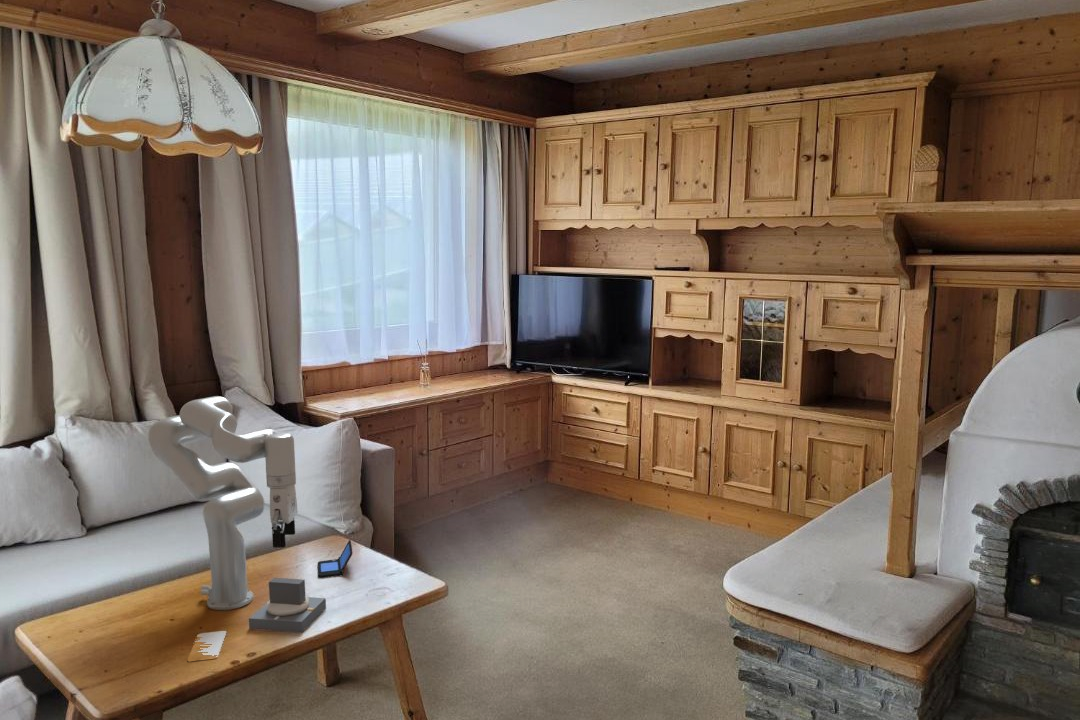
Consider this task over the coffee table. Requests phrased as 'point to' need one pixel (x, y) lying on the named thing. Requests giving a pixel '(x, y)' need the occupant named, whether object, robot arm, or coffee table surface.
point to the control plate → (288, 618)
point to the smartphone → (212, 642)
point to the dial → (287, 596)
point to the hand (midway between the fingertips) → (284, 540)
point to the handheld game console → (335, 563)
